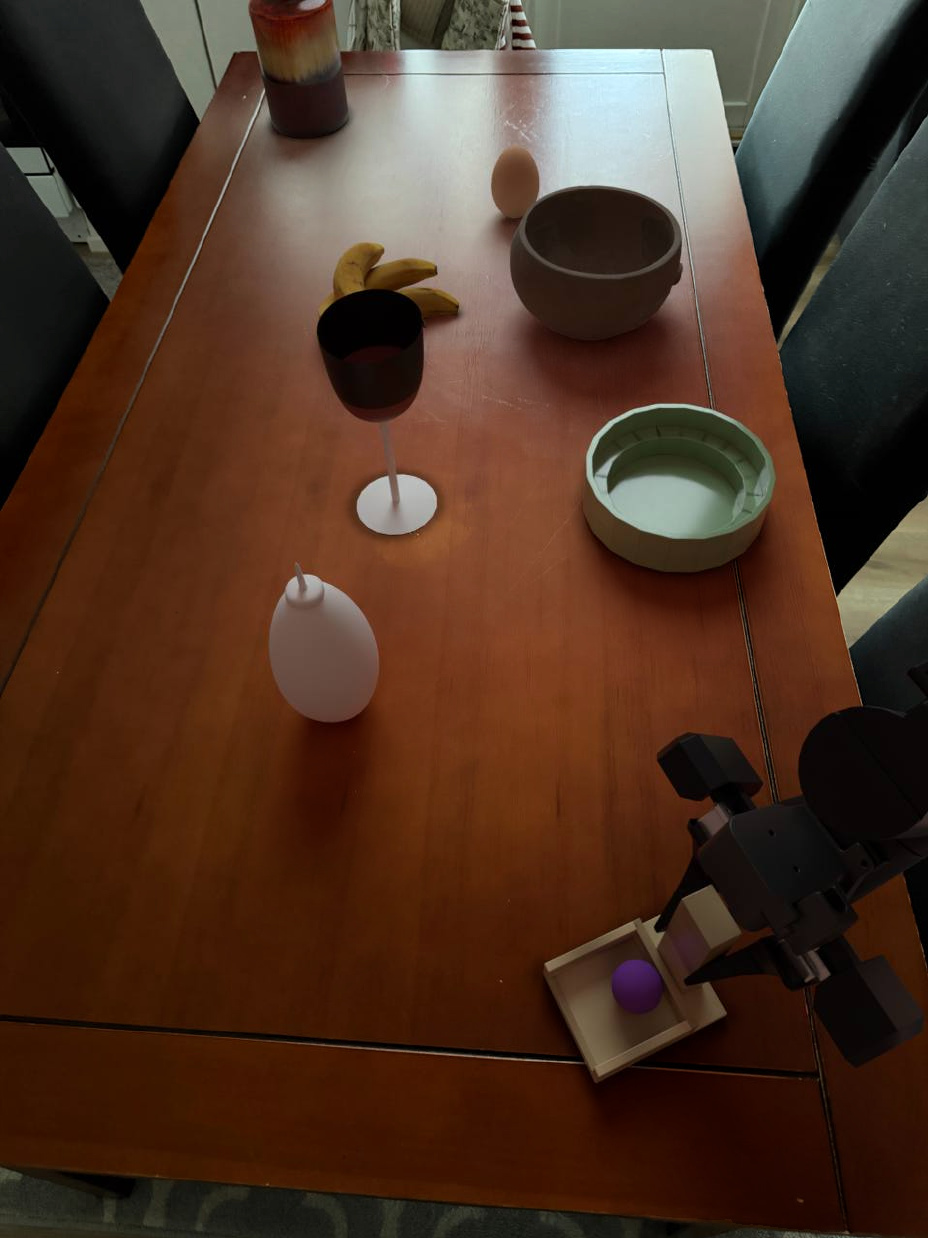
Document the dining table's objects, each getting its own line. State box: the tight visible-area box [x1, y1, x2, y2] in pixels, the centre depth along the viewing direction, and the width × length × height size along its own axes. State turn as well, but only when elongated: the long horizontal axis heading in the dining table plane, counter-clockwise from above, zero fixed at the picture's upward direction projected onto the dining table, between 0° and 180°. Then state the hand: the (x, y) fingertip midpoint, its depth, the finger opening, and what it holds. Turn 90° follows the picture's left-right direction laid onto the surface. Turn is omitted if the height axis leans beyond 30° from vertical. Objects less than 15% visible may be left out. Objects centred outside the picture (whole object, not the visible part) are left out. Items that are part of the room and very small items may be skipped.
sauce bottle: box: [268, 562, 380, 723], centre depth 65 cm, size 8×8×18 cm
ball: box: [611, 960, 663, 1014], centre depth 57 cm, size 3×3×3 cm
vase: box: [247, 0, 350, 139], centre depth 117 cm, size 11×11×20 cm
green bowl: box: [581, 403, 777, 573], centre depth 81 cm, size 16×16×5 cm
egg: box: [490, 145, 541, 219], centre depth 107 cm, size 6×6×8 cm
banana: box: [318, 241, 460, 329], centre depth 97 cm, size 15×19×6 cm
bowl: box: [509, 184, 684, 341], centre depth 95 cm, size 17×18×10 cm
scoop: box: [542, 885, 743, 1084], centre depth 54 cm, size 10×7×13 cm
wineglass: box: [316, 289, 438, 536], centre depth 76 cm, size 8×9×20 cm
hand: (672, 955), depth 54 cm, fingers closed on scoop, 3 cm apart
